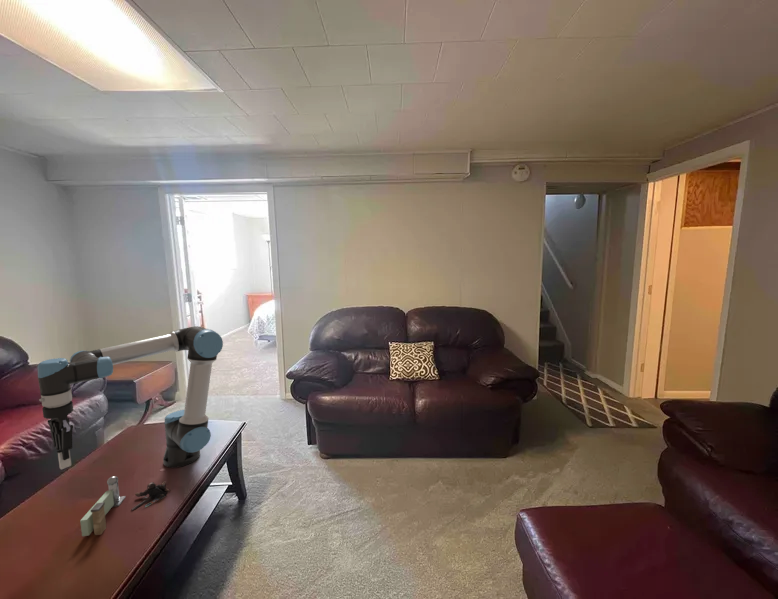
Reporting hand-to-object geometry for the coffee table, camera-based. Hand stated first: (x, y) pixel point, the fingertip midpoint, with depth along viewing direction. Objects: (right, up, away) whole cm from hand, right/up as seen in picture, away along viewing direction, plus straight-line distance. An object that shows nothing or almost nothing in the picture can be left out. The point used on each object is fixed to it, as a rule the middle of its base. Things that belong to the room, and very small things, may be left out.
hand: (65, 466), depth 121 cm
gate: (+9, -21, +4) cm, 23 cm away
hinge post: (+7, -21, +14) cm, 26 cm away
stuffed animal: (+19, -21, +17) cm, 33 cm away
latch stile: (+13, -23, 0) cm, 26 cm away
